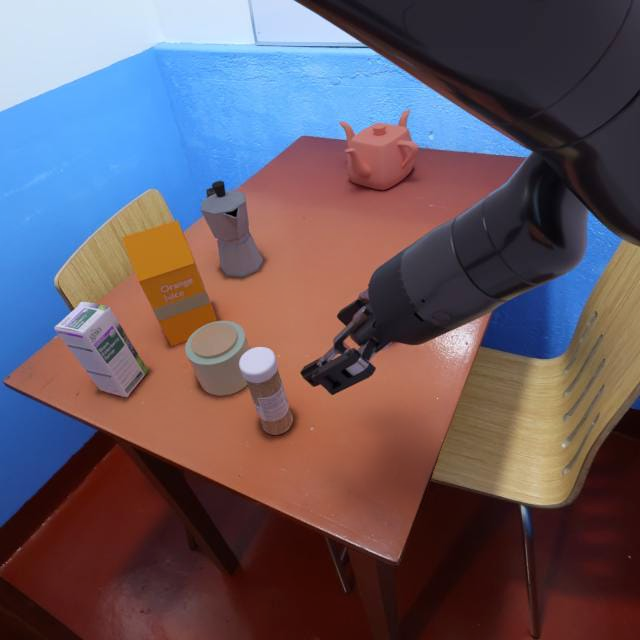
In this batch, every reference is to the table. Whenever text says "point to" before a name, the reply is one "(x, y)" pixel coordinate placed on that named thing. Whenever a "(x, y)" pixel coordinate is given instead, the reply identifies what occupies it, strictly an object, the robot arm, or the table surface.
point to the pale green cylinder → (218, 356)
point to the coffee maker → (231, 230)
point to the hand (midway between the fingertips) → (326, 347)
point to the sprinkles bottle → (266, 389)
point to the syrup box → (102, 348)
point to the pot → (380, 153)
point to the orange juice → (170, 280)
